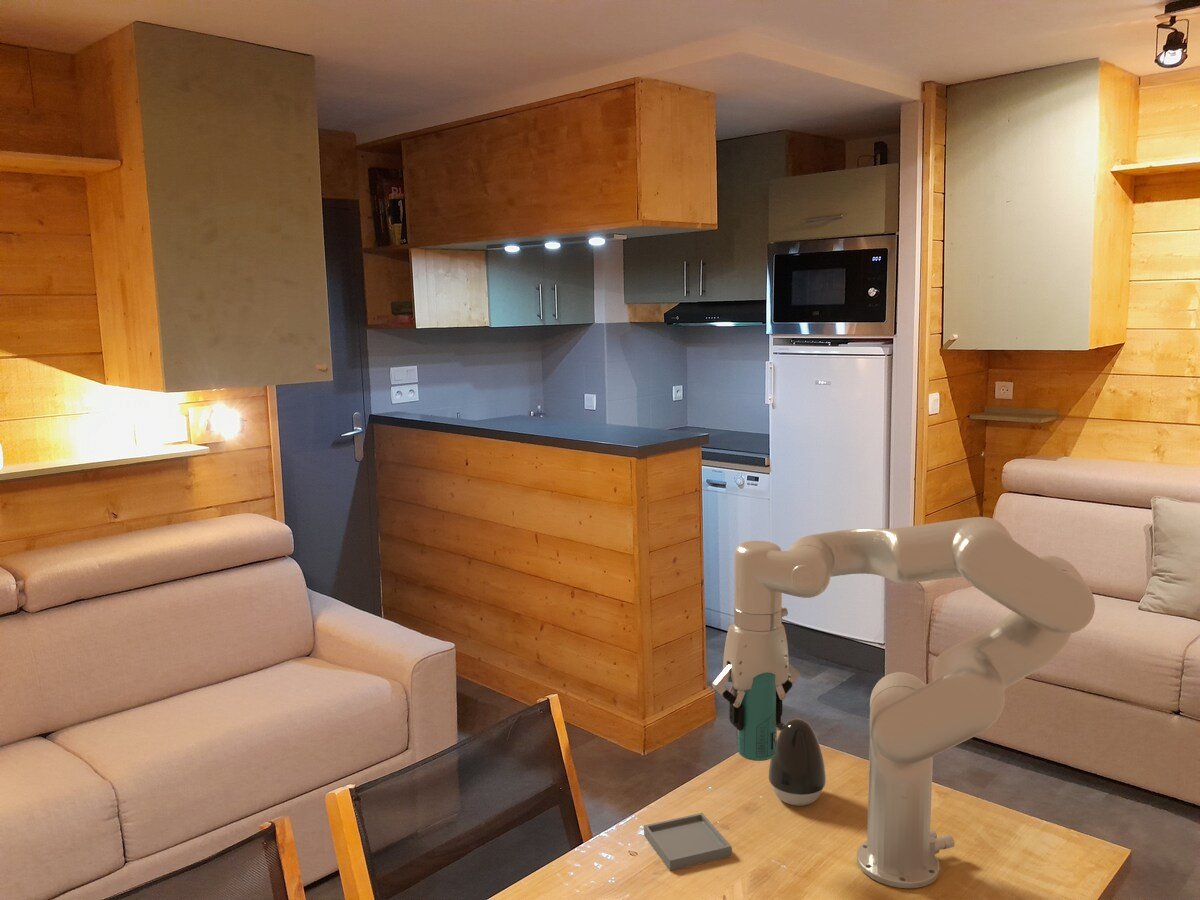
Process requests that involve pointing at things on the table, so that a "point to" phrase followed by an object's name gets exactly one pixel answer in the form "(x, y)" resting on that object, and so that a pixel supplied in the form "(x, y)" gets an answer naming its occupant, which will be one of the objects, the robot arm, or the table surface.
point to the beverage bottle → (759, 720)
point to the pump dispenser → (797, 764)
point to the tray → (687, 841)
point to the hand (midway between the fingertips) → (755, 722)
